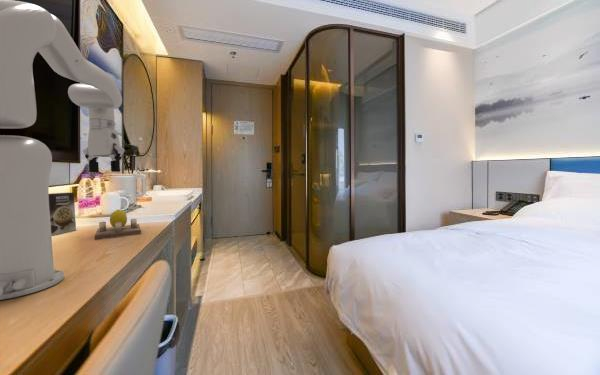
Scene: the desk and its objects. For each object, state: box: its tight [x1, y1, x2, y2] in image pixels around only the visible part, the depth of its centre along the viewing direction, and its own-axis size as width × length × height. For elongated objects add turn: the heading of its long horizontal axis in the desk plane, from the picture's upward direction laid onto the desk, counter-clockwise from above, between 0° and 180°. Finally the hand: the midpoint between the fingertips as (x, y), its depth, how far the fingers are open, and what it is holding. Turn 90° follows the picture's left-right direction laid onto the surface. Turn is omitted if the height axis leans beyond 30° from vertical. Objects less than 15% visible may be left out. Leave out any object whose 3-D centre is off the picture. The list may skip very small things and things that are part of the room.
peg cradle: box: [94, 218, 142, 241], centre depth 100 cm, size 14×14×5 cm
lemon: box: [109, 209, 128, 228], centre depth 100 cm, size 6×6×8 cm
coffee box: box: [48, 192, 77, 237], centre depth 101 cm, size 9×6×16 cm
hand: (104, 171), depth 95 cm, fingers open, 9 cm apart
